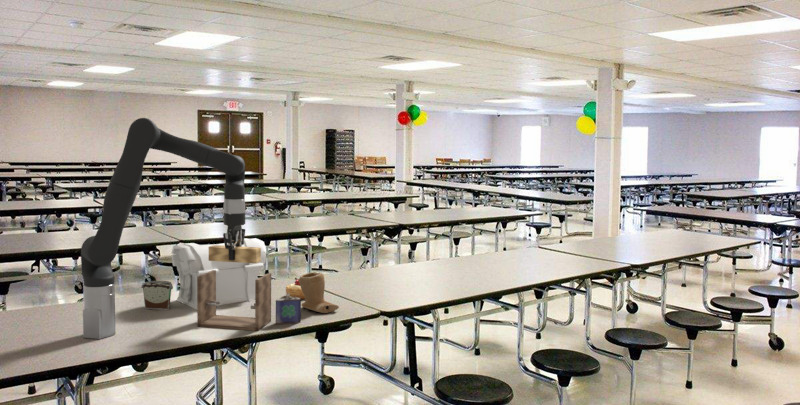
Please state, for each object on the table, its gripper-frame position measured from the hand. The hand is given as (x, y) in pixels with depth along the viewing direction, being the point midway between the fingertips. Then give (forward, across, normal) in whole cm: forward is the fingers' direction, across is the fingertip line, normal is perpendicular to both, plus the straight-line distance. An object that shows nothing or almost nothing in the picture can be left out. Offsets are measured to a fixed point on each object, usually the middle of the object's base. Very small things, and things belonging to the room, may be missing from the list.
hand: (234, 258), depth 218 cm
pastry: (+24, -44, +10) cm, 51 cm away
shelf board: (+1, 0, 0) cm, 1 cm away
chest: (+24, -31, -20) cm, 44 cm away
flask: (+24, -6, +18) cm, 31 cm away
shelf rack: (+24, 0, 0) cm, 24 cm away
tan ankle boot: (+24, -25, +23) cm, 42 cm away
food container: (+24, -15, -38) cm, 47 cm away
